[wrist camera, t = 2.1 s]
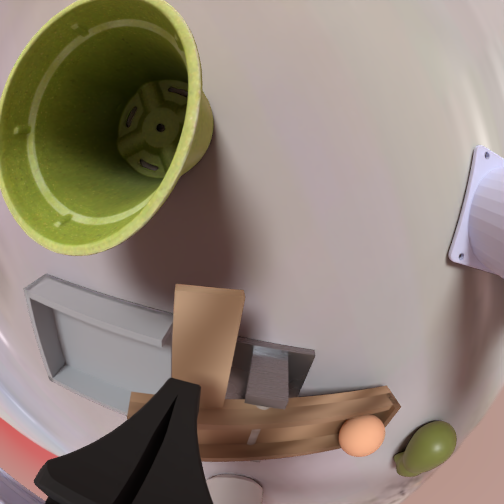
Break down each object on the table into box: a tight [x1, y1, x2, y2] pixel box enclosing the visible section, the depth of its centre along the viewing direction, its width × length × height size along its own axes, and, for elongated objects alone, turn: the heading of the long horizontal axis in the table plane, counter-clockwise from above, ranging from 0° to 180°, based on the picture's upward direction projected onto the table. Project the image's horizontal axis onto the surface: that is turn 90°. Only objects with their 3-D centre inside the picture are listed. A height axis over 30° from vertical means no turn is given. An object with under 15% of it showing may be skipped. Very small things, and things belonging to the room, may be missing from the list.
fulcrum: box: [225, 336, 315, 462], centre depth 18 cm, size 6×9×5 cm, turn 169°
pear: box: [394, 421, 457, 477], centre depth 20 cm, size 6×5×10 cm
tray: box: [24, 274, 173, 416], centre depth 19 cm, size 12×10×3 cm
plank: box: [127, 284, 401, 462], centre depth 15 cm, size 18×13×2 cm
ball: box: [339, 414, 385, 457], centre depth 16 cm, size 4×4×4 cm
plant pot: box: [0, 0, 213, 256], centre depth 11 cm, size 9×9×9 cm
